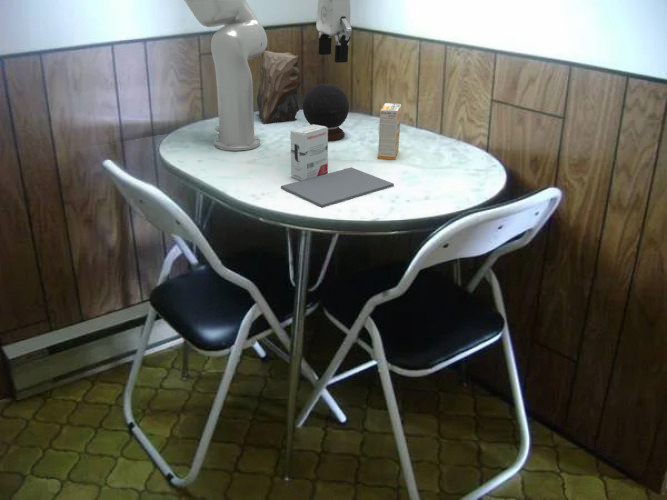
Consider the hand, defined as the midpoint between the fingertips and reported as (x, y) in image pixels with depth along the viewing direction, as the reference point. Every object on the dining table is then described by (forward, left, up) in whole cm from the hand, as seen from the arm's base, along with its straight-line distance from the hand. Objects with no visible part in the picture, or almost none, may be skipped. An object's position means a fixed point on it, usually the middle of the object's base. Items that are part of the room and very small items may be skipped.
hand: (332, 58), depth 170 cm
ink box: (+6, -12, -26) cm, 29 cm away
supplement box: (+6, +15, -26) cm, 31 cm away
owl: (-42, +12, -26) cm, 51 cm away
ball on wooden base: (-18, +13, -26) cm, 34 cm away
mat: (+17, -12, -26) cm, 33 cm away
